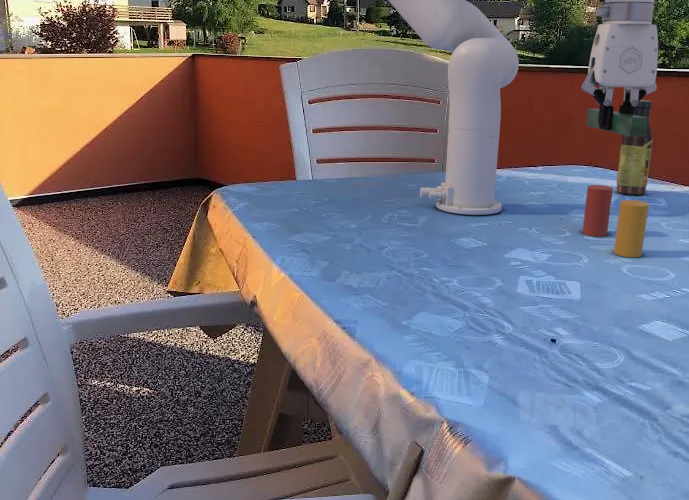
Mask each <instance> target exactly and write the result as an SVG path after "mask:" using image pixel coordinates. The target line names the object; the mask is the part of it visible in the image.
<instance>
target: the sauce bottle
mask: <svg viewBox="0 0 689 500" xmlns="http://www.w3.org/2000/svg"><path fill="white" fill-rule="evenodd" d="M652 104H653V102H652V101H651V100H644V99H643V100H642V99H641V100H640V101H639V102H638V104H637V106H634V113H633V115H636V116H642V117H647V118H648V120H647V128H646V135H645V137H630V136H626V135H622V134H621V135H622V138H621V144H620V149H619V157H618V167H617V177H616V192H617V193H618V194H622V195H630V196H631V195H633V196H638V195H639V196H641V195H645V194H646V190H647V186H648V180H649V175H650V167H651V166H650V165H651V158H652V149H653V142H654V138H653V134H652V133H653V132H652V129H651V123H650V114H651V108H652Z"/></svg>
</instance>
